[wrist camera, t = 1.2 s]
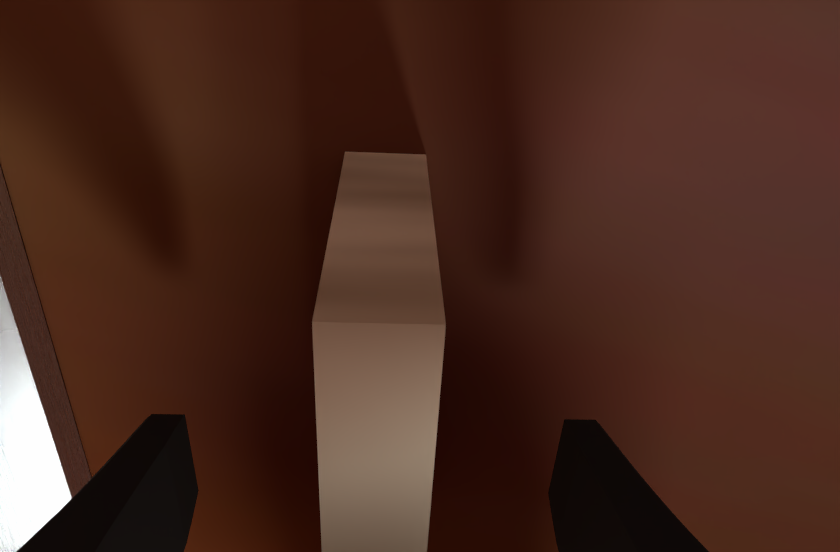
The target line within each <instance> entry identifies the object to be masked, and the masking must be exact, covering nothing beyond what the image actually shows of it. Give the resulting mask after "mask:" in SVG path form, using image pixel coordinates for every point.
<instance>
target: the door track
mask: <svg viewBox="0 0 840 552" xmlns="http://www.w3.org/2000/svg"><path fill="white" fill-rule="evenodd" d="M90 479H91V475H90V471H89V468H88V465H87V461H86V458H85V454H84V451H83V447H82V444H81V441H80V437H79V434H78V430H77V427H76V424H75V420H74V417H73V413H72V410H71V406H70V403H69V400H68V396H67V393H66V389H65V386H64V382H63V379H62V376H61V372H60V369H59V365H58V362H57V359H56V355H55V352H54V348H53V345H52V341H51V338H50V335H49V331H48V328H47V324H46V321H45V318H44V314H43V311H42V307H41V304H40V300H39V297H38V294H37V290H36V287H35V283H34V280H33V276H32V273H31V270H30V266H29V263H28V259H27V256H26V253H25V249H24V246H23V242H22V239H21V235H20V232H19V229H18V225H17V222H16V218H15V215H14V211H13V208H12V205H11V201H10V198H9V194H8V191H7V188H6V184H5V181H4V177H3V174H2V170H1V167H0V552H16V551H17V550H18V549H20V548H21V547H22V546H23V545H24V544H25V543H26V542H27V541H28V540H29V539H30V538H31V537H32V536H33V535H35V534H36V533H37V532H38V531H39V530H40V529H41V528H42V527H43V526H44V525H45V524H46V523H47V522H48V521H49V520H50V519H51V518H53V517H54V516H55V515H56V514H57V513H58V512H59V511H60V510H61V509H62V508H63V507H64V506H65V505H66V504H67V503H68V502H69V501H70V500H71V499H72V498H73V497H74V496H75V495H76V494H77V493H78V492H79V491H80V490H81V488H82V487H83V486H84V485H85V484H86V483H87V482H88V481H89V480H90Z"/></svg>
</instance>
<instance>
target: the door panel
mask: <svg viewBox="0 0 840 552" xmlns="http://www.w3.org/2000/svg"><path fill="white" fill-rule="evenodd" d="M445 331H446V321H445V312H444V304H443V295H442V287H441V278H440V270H439V261H438V253H437V244H436V236H435V227H434V219H433V210H432V202H431V193H430V185H429V176H428V168H427V159H426V154H398V153H370V152H345V154H344V159H343V165H342V170H341V175H340V180H339V185H338V190H337V196H336V201H335V206H334V211H333V216H332V221H331V227H330V232H329V237H328V242H327V247H326V252H325V258H324V263H323V268H322V273H321V278H320V283H319V289H318V294H317V299H316V304H315V309H314V314H313V320H312V333H313V356H314V380H315V404H316V427H317V451H318V475H319V499H320V522H321V546H322V552H427V545H428V533H429V521H430V509H431V497H432V485H433V473H434V461H435V450H436V438H437V426H438V414H439V402H440V390H441V378H442V366H443V354H444V342H445Z"/></svg>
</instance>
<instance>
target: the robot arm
mask: <svg viewBox="0 0 840 552" xmlns="http://www.w3.org/2000/svg"><path fill="white" fill-rule="evenodd" d="M197 495H198V486H197V480H196V475H195V469H194V464H193V458H192V453H191V447H190V442H189V436H188V431H187V425H186V419H185V415H171V414H151V415H150V416H149V417H148V418H147V419H146V420H145V421H144V422H143V423H142V424H141V425H140V426H139V427H138V428H137V430H136V431H135V432H134V433H133V434H132V435H131V436H130V437H129V438H128V439H127V441H126V442H125V443H124V444H123V445H122V446H121V447H120V448H119V449H118V450H117V452H116V453H115V454H114V455H113V456H112V457H111V458H110V459H109V460H108V461H107V462H106V463H105V464H104V466H103V467H102V468H101V469H100V470H99V471H98V472H97V473H96V474H95V475H94V476H93V477H92V478H91V479H90V480H89V481H88V482H87V483H86V484H85V485H84V486H83V487H82V488H81V490H80V491H79V492H78V493H77V494H76V495H75V496H74V497H73V498H72V499H71V500H70V501H69V502H68V503H67V504H66V505H65V506H64V507H63V508H62V509H61V510H60V511H59V512H58V513H57V514H56V515H55V516H54V517H53V518H51V519H50V520H49V521H48V522H47V523H46V524H45V525H44V526H43V527H42V528H41V529H40V530H39V531H38V532H37V533H36V534H35V535H33V536H32V537H31V538H30V539H29V540H28V541H27V542H26V543H25V544H24V545H23V546H22V547H21V548H20V549H18V550H17V551H16V552H184V549H185V546H186V543H187V538H188V534H189V530H190V526H191V522H192V517H193V513H194V508H195V504H196V499H197ZM549 500H550V506H551V513H552V519H553V525H554V530H555V536H556V542H557V546H558V550H559V552H708V550H707V549H706V548H705V547H704V546H703V545H702V544H701V543H700V542H699V541H698V540H697V539H696V538H695V537H694V536H693V535H692V534H691V533H690V532H689V531H688V529H687V528H686V527H685V526H684V525H683V524H682V523H681V522H680V521H679V520H678V519H677V517H676V516H675V515H674V514H673V513H672V512H671V511H670V509H669V508H668V507H667V506H666V505H665V504H664V503H663V501H662V500H661V499H660V498H659V497H658V496H657V495H656V493H655V492H654V491H653V490H652V489H651V488H650V486H649V485H648V484H647V483H646V482H645V480H644V479H643V478H642V477H641V476H640V474H639V473H638V472H637V471H636V469H635V468H634V467H633V466H632V464H631V463H630V462H629V461H628V460H627V458H626V457H625V456H624V455H623V453H622V452H621V451H620V450H619V448H618V447H617V446H616V444H615V443H614V442H613V441H612V439H611V438H610V437H609V436H608V434H607V433H606V432H605V430H604V429H603V428H602V427H601V425H600V424H599V423H598V422H597V421H596V420H564V424H563V428H562V433H561V437H560V442H559V447H558V451H557V456H556V460H555V465H554V470H553V474H552V479H551V483H550V488H549Z"/></svg>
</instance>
